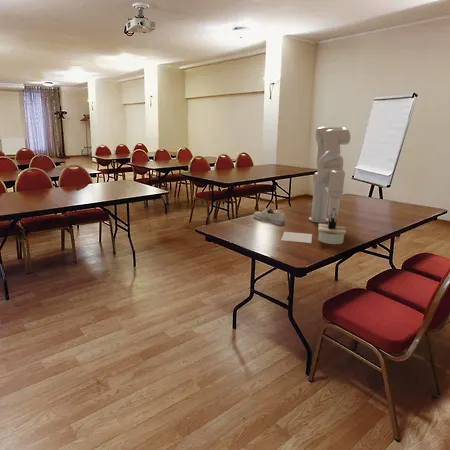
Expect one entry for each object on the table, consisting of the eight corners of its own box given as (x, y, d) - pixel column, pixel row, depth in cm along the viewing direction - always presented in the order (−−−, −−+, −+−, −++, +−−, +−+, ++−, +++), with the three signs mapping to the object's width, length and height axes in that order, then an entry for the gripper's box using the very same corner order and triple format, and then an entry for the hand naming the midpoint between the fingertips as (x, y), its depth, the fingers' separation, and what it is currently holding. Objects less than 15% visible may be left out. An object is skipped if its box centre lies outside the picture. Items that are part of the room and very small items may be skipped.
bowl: (318, 236, 208) (319, 226, 207) (342, 238, 205) (343, 228, 204) (318, 243, 196) (318, 232, 195) (343, 246, 193) (344, 235, 192)
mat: (283, 232, 215) (284, 231, 214) (312, 235, 211) (312, 234, 211) (280, 241, 200) (281, 240, 199) (311, 243, 196) (311, 242, 196)
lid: (318, 225, 207) (319, 215, 206) (344, 227, 204) (345, 217, 202) (318, 232, 194) (318, 221, 193) (345, 234, 191) (347, 224, 189)
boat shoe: (250, 217, 247) (251, 205, 244) (260, 215, 252) (260, 203, 250) (277, 226, 228) (278, 212, 226) (287, 224, 233) (288, 210, 231)
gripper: (327, 190, 202) (324, 222, 207) (327, 196, 187) (324, 231, 192) (341, 191, 201) (338, 224, 206) (343, 197, 185) (339, 232, 190)
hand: (331, 227), depth 199 cm, fingers closed on lid, 4 cm apart
